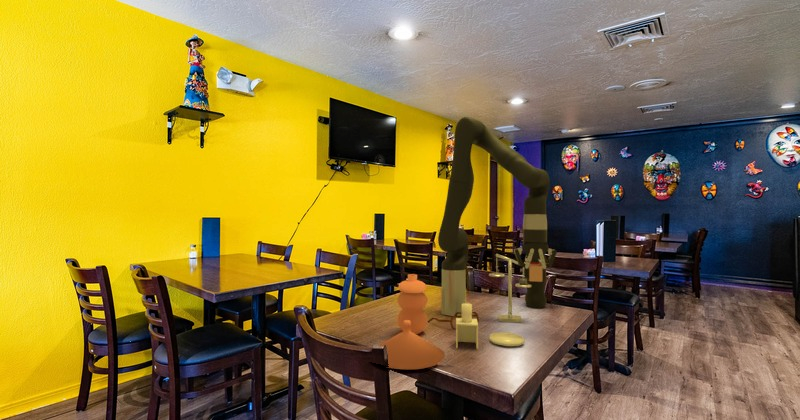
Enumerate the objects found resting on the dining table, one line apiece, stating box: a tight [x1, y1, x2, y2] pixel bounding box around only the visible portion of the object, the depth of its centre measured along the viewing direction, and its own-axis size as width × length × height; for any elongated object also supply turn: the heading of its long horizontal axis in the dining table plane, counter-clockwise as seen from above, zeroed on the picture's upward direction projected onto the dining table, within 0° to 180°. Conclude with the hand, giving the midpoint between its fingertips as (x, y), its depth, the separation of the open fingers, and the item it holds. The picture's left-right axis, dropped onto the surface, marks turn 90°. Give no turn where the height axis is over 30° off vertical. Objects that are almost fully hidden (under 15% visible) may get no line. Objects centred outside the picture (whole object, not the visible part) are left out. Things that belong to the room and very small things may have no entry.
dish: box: [489, 331, 525, 347], centre depth 115 cm, size 10×10×2 cm
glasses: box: [427, 311, 480, 331], centre depth 135 cm, size 13×13×5 cm
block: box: [529, 264, 542, 282], centre depth 126 cm, size 4×4×5 cm
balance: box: [488, 253, 531, 323], centre depth 139 cm, size 15×6×24 cm, turn 82°
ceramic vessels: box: [377, 273, 446, 370], centre depth 112 cm, size 35×21×19 cm, turn 174°
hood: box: [455, 302, 479, 350], centre depth 112 cm, size 6×6×12 cm
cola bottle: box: [524, 254, 547, 309], centre depth 159 cm, size 8×8×30 cm
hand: (534, 279), depth 126 cm, fingers closed on block, 4 cm apart
